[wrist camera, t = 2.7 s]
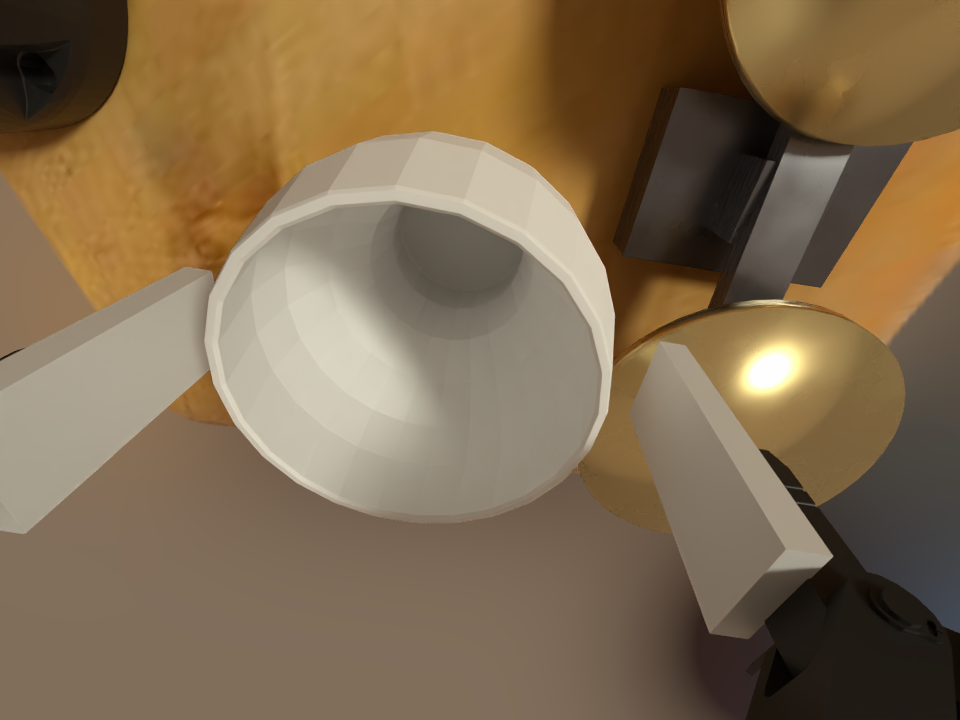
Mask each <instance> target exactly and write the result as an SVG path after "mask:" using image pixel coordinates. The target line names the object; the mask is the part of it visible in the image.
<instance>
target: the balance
mask: <svg viewBox="0 0 960 720" xmlns="http://www.w3.org/2000/svg"><path fill="white" fill-rule="evenodd" d="M718 2H719V9H720V16H721V23H722V30H723V33H724V37H725V40H726V44H727V47H728V51H729V54H730V57H731V59H732V62H733V64H734V66H735V68H736V70H737V73H738V75H739V77H740V79H741V81H742V82H743V84H744V85H745V87H746V88H747V90H748V91H749V93H750V94H751V96H752V97H753V99H748V98H742V97H736V96H730V95H724V94H718V93H712V92H706V91H700V90H694V89H688V88H682V87H671V88H662V90H661V93H660V96H659V99H658V102H657V105H656V108H655V112H654V115H653V118H652V121H651V124H650V127H649V130H648V134H647V137H646V140H645V143H644V146H643V149H642V152H641V156H640V159H639V162H638V165H637V168H636V171H635V174H634V178H633V181H632V184H631V187H630V190H629V193H628V196H627V200H626V203H625V206H624V209H623V212H622V215H621V218H620V222H619V225H618V228H617V231H616V234H615V237H614V240H613V242H614V244H615V245H616V247H617V248H618V249H619V251H620V252H621V254H622V255H623V256H624V257H630V258H637V259H643V260H649V261H655V262H662V263H668V264H674V265H681V266H687V267H693V268H700V269H706V270H712V271H719V272H722V273H721V276H720V278H719V281H718V283H717V286H716V288H715V291H714V294H713V296H712V299H711V301H710V304H709V306H708V309H704V310H701V311H698V312H695V313H693V314H690V315H687V316H684V317H681V318H679V319H677V320H675V321H673V322H670V323H668V324H666V325H664V326H662V327H660V328H658V329H656V330H655V331H653V332H651V333H650V334H648V335H646V336H644V337H643V338H641V339H639V340H638V341H637V342H635V343H634V344H633V345H631V346H630V347H629V348H627V349H626V350H625V351H623V352H622V353H621V354H620V355H619V356H618V357H617V358H616V359H615V360H614V361H613V369H612V378H611V388H610V397H609V407H608V413H607V415H606V417H605V420H604V422H603V424H602V426H601V428H600V430H599V433H598V435H597V437H596V439H595V441H594V444H593V446H592V448H591V450H590V451H589V453H588V454H587V455H586V456H585V457H584V458H583V459H582V460H581V462H580V463H579V464H578V467H579V471H580V474H581V477H582V479H583V481H584V483H585V485H586V487H587V489H588V490H589V491H590V493H591V494H592V495H593V497H594V498H595V499H596V500H597V501H598V502H599V503H600V504H601V505H602V506H603V507H605V508H606V509H607V510H609V511H610V512H612V513H613V514H614V515H616V516H618V517H620V518H622V519H624V520H625V521H628V522H630V523H632V524H635V525H637V526H640V527H643V528H647V529H650V530H654V531H658V532H664V533H669V534H673V532H672V530H671V527H670V524H669V521H668V519H667V516H666V513H665V511H664V508H663V505H662V502H661V500H660V497H659V494H658V492H657V489H656V486H655V483H654V481H653V478H652V475H651V472H650V470H649V467H648V464H647V462H646V459H645V456H644V453H643V451H642V448H641V445H640V443H639V440H638V437H637V434H636V432H635V429H634V426H633V424H632V421H631V418H630V415H629V411H630V409H631V407H632V405H633V402H634V400H635V398H636V395H637V393H638V391H639V388H640V386H641V384H642V381H643V379H644V377H645V375H646V372H647V370H648V368H649V365H650V363H651V361H652V358H653V356H654V354H655V351H656V349H657V347H658V345H659V342H660V341H661V342H667V343H674V344H680V345H686V347H687V348H688V350H689V351H690V352H691V354H692V355H693V357H694V358H695V360H696V361H697V362H698V364H699V365H700V367H701V368H702V370H703V371H704V372H705V374H706V375H707V377H708V378H709V380H710V381H711V382H712V384H713V385H714V387H715V388H716V390H717V391H718V392H719V394H720V395H721V397H722V398H723V400H724V401H725V402H726V404H727V405H728V407H729V408H730V410H731V411H732V412H733V414H734V415H735V417H736V418H737V420H738V421H739V422H740V424H741V425H742V427H743V428H744V429H745V431H746V432H747V434H748V435H749V437H750V438H751V439H752V441H753V442H754V444H755V445H756V447H757V448H758V449H764V450H768V451H770V452H771V453H772V454H773V455H774V456H775V457H777V458H778V459H779V460H780V461H781V462H782V463H784V464H785V465H786V466H787V467H788V468H789V469H790V470H791V471H792V473H793V474H794V475H795V477H796V478H797V479H798V481H799V482H800V483H801V485H802V486H803V491H806V492H807V493H808V494H809V496H810V497H811V498H812V500H813V501H814V502H815V507H816V506H818V505H820V504H822V503H824V502H825V501H828V500H829V499H830V498H832V497H834V496H835V495H837V494H838V493H840V492H841V491H843V490H844V489H846V488H847V487H848V486H849V485H851V484H852V483H853V482H855V481H856V480H857V479H858V478H860V477H861V476H862V475H863V474H864V473H865V472H866V471H867V470H868V469H869V468H870V467H871V466H872V465H873V464H874V463H875V462H876V460H877V459H878V458H879V457H880V456H881V455H882V453H883V452H884V451H885V449H886V448H887V446H888V445H889V443H890V441H891V440H892V438H893V437H894V434H895V432H896V430H897V428H898V426H899V424H900V421H901V417H902V413H903V410H904V405H905V385H904V379H903V374H902V372H901V369H900V367H899V364H898V362H897V360H896V358H895V357H894V356H893V355H892V353H891V352H890V350H889V349H888V347H887V346H886V345H885V344H884V343H883V342H881V341H880V340H879V339H878V338H877V337H876V336H875V335H874V334H872V333H871V332H869V331H868V330H866V329H865V328H863V327H862V326H860V325H859V324H857V323H855V322H854V321H852V320H850V319H849V318H847V317H845V316H844V315H842V314H840V313H837V312H835V311H832V310H829V309H827V308H824V307H821V306H817V305H813V304H808V303H804V302H798V301H787V300H782V299H783V297H784V295H785V293H786V291H787V289H788V287H789V284H790V283H794V284H801V285H807V286H813V287H820V288H821V287H822V285H823V283H824V282H825V280H826V279H827V277H828V276H829V274H830V272H831V271H832V269H833V268H834V266H835V265H836V263H837V261H838V260H839V258H840V257H841V255H842V253H843V252H844V250H845V249H846V247H847V246H848V244H849V242H850V241H851V239H852V238H853V236H854V235H855V233H856V231H857V230H858V228H859V227H860V225H861V224H862V222H863V220H864V219H865V217H866V216H867V214H868V213H869V211H870V209H871V208H872V206H873V205H874V203H875V202H876V200H877V198H878V197H879V195H880V194H881V192H882V190H883V189H884V187H885V186H886V184H887V183H888V181H889V179H890V178H891V176H892V175H893V173H894V172H895V170H896V168H897V167H898V165H899V164H900V162H901V161H902V159H903V157H904V156H905V154H906V153H907V151H908V150H909V148H910V146H911V145H912V143H913V142H914V141H920V140H925V139H928V138H932V137H935V136H938V135H942V134H945V133H948V132H952V131H955V130H957V129H960V0H718Z"/></svg>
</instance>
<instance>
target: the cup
mask: <svg viewBox="0 0 960 720" xmlns="http://www.w3.org/2000/svg"><path fill="white" fill-rule="evenodd" d="M614 325H615V313H614V308H613V303H612V298H611V294H610V289H609V284H608V279H607V274H606V270H605V267H604V265H603V263H602V261H601V259H600V258H599V256H598V254H597V252H596V250H595V249H594V247H593V245H592V243H591V241H590V240H589V238H588V236H587V234H586V232H585V231H584V229H583V227H582V225H581V223H580V222H579V220H578V218H577V216H576V214H575V213H574V211H573V209H572V207H571V206H570V204H569V202H568V201H567V200H566V199H565V198H564V197H563V196H562V195H561V194H560V193H559V192H558V191H557V190H556V189H555V188H554V187H553V186H552V185H550V184H549V183H548V182H547V181H546V180H545V179H544V178H543V177H542V176H541V175H540V174H539V173H538V172H537V171H536V170H535V169H534V168H533V167H532V166H530V165H528V164H526V163H524V162H522V161H521V160H519V159H517V158H515V157H513V156H511V155H509V154H508V153H506V152H504V151H502V150H500V149H498V148H496V147H495V146H493V145H491V144H489V143H487V142H484V141H479V140H474V139H470V138H465V137H460V136H455V135H450V134H446V133H441V132H436V131H429V132H418V133H407V134H397V135H386V136H380V137H377V138H374V139H370V140H367V141H364V142H361V143H358V144H355V145H353V146H351V147H348V148H346V149H344V150H341V151H339V152H337V153H334V154H332V155H330V156H328V157H325V158H323V159H321V160H318V161H316V162H314V163H311V164H309V165H307V166H305V167H304V168H303V169H302V170H301V171H300V172H299V173H298V174H297V175H295V176H294V177H293V178H292V179H291V180H290V181H289V182H288V183H287V184H286V185H285V186H284V187H282V188H281V189H280V190H279V191H278V192H277V193H276V194H275V195H274V196H273V197H272V198H270V199H269V200H268V201H267V203H266V204H265V205H264V207H263V208H262V209H261V211H260V212H259V213H258V215H257V216H256V217H255V219H254V220H253V221H252V223H251V224H250V225H249V227H248V228H247V229H246V231H245V232H244V233H243V235H242V236H241V237H240V239H239V240H238V241H237V243H236V244H235V245H234V247H233V248H232V250H231V251H230V253H229V255H228V257H227V259H226V261H225V263H224V265H223V267H222V269H221V271H220V273H219V275H218V277H217V279H216V281H215V283H214V285H213V287H212V289H211V291H210V293H209V300H208V309H207V319H206V328H205V337H204V343H205V348H206V352H207V357H208V361H209V366H210V371H211V375H212V380H213V384H214V387H215V388H216V390H217V392H218V394H219V396H220V398H221V400H222V402H223V404H224V405H225V407H226V409H227V411H228V413H229V415H230V417H231V419H232V420H233V422H234V424H235V425H236V426H237V427H238V429H239V430H240V431H241V432H242V433H243V434H244V436H245V437H246V438H247V439H248V440H249V441H250V442H251V444H252V445H253V446H254V447H255V448H256V449H257V450H258V452H259V453H260V454H261V455H262V456H263V457H264V458H265V459H267V460H268V461H269V462H270V463H272V464H273V465H274V466H276V467H277V468H278V469H280V470H281V471H282V472H283V473H285V474H286V475H287V476H289V477H290V478H291V479H292V480H294V481H295V482H296V483H298V484H300V485H302V486H303V487H305V488H307V489H309V490H311V491H313V492H315V493H317V494H319V495H321V496H322V497H324V498H326V499H328V500H330V501H332V502H334V503H336V504H339V505H342V506H345V507H348V508H351V509H354V510H357V511H360V512H363V513H367V514H369V515H372V516H376V517H382V518H388V519H394V520H400V521H406V522H412V523H459V522H464V521H470V520H476V519H482V518H487V517H493V516H497V515H499V514H502V513H504V512H507V511H510V510H512V509H515V508H517V507H520V506H523V505H525V504H528V503H530V502H532V501H534V500H535V499H537V498H538V497H540V496H541V495H543V494H544V493H545V492H547V491H549V490H550V489H552V488H553V487H555V486H556V485H558V484H559V483H561V482H562V481H564V480H565V478H566V477H567V476H568V475H569V474H570V473H571V472H572V471H573V469H574V468H575V467H576V466H577V465H578V464H579V463H580V462H581V460H582V459H583V458H584V457H585V456H586V455H587V454H588V453H589V451H590V450H591V448H592V446H593V444H594V441H595V439H596V437H597V435H598V433H599V430H600V428H601V426H602V424H603V422H604V420H605V417H606V415H607V413H608V407H609V397H610V388H611V378H612V369H613V347H614Z"/></svg>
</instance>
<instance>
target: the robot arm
mask: <svg viewBox="0 0 960 720" xmlns="http://www.w3.org/2000/svg"><path fill="white" fill-rule="evenodd" d="M127 25H128V14H127V0H0V133H13V132H26V131H40V130H51V129H58V128H62V127H66V126H70V125H72V124H75V123H77V122H79V121H81V120H83V119H85V118H86V117H88V116H89V115H90V114H92V113H93V112H94V111H95V110H96V109H97V108H99V107H100V106H101V104H102V103H103V102H104V101H105V100H106V98H107V97H108V95H109V94H110V92H111V91H112V89H113V87H114V85H115V83H116V81H117V79H118V76H119V73H120V71H121V67H122V63H123V60H124V55H125V49H126V41H127ZM213 285H214V278H213V274H212V271H209V270H203V269H197V268H190V267H184V268H182V269H180V270H178V271H176V272H174V273H172V274H170V275H168V276H166V277H164V278H162V279H160V280H158V281H156V282H154V283H152V284H150V285H148V286H146V287H144V288H142V289H140V290H138V291H137V292H135V293H133V294H131V295H129V296H127V297H125V298H123V299H121V300H119V301H117V302H115V303H113V304H111V305H109V306H107V307H105V308H103V309H101V310H99V311H97V312H95V313H93V314H92V315H89V316H87V317H86V318H84V319H82V320H80V321H78V322H76V323H74V324H72V325H70V326H68V327H66V328H64V329H62V330H60V331H58V332H56V333H54V334H52V335H50V336H48V337H46V338H44V339H42V340H40V341H38V342H37V343H34V344H33V345H31V346H29V347H27V348H23V349H20V350H17V351H14V352H12V353H10V354H8V355H6V356H4V357H2V358H0V530H1V531H8V532H15V533H21V534H25V533H26V532H28V531H29V530H30V529H31V528H32V527H33V526H34V525H35V524H37V523H38V522H39V521H40V520H41V519H42V518H43V517H44V516H46V515H47V514H48V513H49V512H50V511H51V510H52V509H54V508H55V507H56V506H57V505H58V504H59V503H60V502H61V501H63V499H65V498H66V497H67V496H68V495H69V494H70V493H71V492H73V490H75V489H76V488H77V487H78V486H79V485H80V484H81V483H83V482H84V481H85V480H86V479H87V478H88V477H89V476H91V475H92V474H93V473H94V472H95V471H96V470H97V469H99V468H100V467H101V466H102V465H103V464H104V463H105V462H106V461H107V460H109V459H110V458H111V457H112V456H113V455H114V454H115V453H116V452H118V451H119V450H120V449H121V448H122V447H123V446H124V445H125V444H127V443H128V442H129V441H130V440H131V439H132V438H133V437H134V436H136V435H137V434H138V433H139V432H140V431H141V430H142V429H143V428H145V427H146V426H147V425H148V424H149V423H150V422H151V421H152V420H153V419H155V418H156V417H157V416H158V415H159V414H160V413H161V412H163V411H164V410H165V409H166V408H167V407H168V406H169V405H170V404H172V403H173V402H174V401H175V400H176V399H177V398H178V397H179V396H181V395H182V394H183V393H184V392H185V391H186V390H187V389H188V388H190V387H191V386H192V385H193V384H194V383H195V382H196V381H197V380H199V379H200V378H201V377H202V376H203V375H204V374H205V373H206V372H208V371H209V370H210V366H209V361H208V357H207V352H206V348H205V343H204V337H205V328H206V319H207V309H208V300H209V293H210V291H211V289H212V287H213ZM629 415H630V418H631V421H632V424H633V426H634V429H635V432H636V434H637V437H638V440H639V443H640V445H641V448H642V451H643V453H644V456H645V459H646V462H647V464H648V467H649V470H650V472H651V475H652V478H653V481H654V483H655V486H656V489H657V492H658V494H659V497H660V500H661V502H662V505H663V508H664V511H665V513H666V516H667V519H668V521H669V524H670V527H671V530H672V532H673V535H674V538H675V540H676V543H677V546H678V549H679V551H680V554H681V557H682V559H683V562H684V565H685V567H686V570H687V573H688V576H689V578H690V581H691V584H692V587H693V589H694V592H695V595H696V597H697V600H698V603H699V605H700V608H701V611H702V614H703V616H704V619H705V622H706V625H707V627H708V630H709V633H710V634H718V635H724V636H732V637H738V638H745V639H749V638H750V637H751V636H752V635H753V634H754V633H755V632H756V631H757V630H758V629H759V628H760V627H761V626H762V625H763V624H766V626H767V628H768V630H769V632H770V634H771V636H772V638H773V640H774V644H772V645H771V646H770V647H769V648H768V649H767V650H766V651H765V652H764V653H762V654H761V655H760V656H759V657H758V658H757V659H756V660H755V661H754V662H753V663H752V664H751V665H750V666H749V667H748V669H747V670H746V672H748V673H749V674H750V675H751V676H752V675H753V674H755V673H756V672H757V671H758V670H759V669H761V670H760V673H759V676H758V679H757V683H756V686H755V689H754V692H753V696H752V699H751V702H750V705H749V709H748V712H747V715H746V718H745V720H960V633H958V632H955V631H953V630H950V629H948V628H945V627H943V626H942V625H941V624H940V622H939V621H938V619H937V618H936V617H935V615H934V614H933V613H932V612H931V611H930V610H929V609H928V608H927V607H926V606H925V605H923V603H922V602H921V601H920V600H918V599H917V598H916V597H915V596H913V595H912V594H911V593H909V592H908V591H906V590H905V589H904V588H902V587H901V586H899V585H898V584H896V583H894V582H892V581H890V580H888V579H886V578H884V577H882V576H880V575H876V574H873V573H868V572H866V570H865V569H864V568H863V567H862V565H861V564H860V563H859V561H858V560H857V558H856V557H855V556H854V554H853V553H852V552H851V550H850V549H849V548H848V546H847V545H846V544H845V542H844V541H843V540H842V538H841V537H840V536H839V534H838V533H837V532H836V530H835V529H834V528H833V526H832V525H831V524H830V522H829V521H828V520H827V518H826V517H825V516H824V514H823V513H822V512H821V510H820V509H819V508H816V507H815V502H814V501H813V500H812V498H811V497H810V496H809V494H808V493H807V492H806V491H803V486H802V485H801V483H800V482H799V481H798V479H797V478H796V477H795V475H794V474H793V473H792V471H791V470H790V469H789V468H788V467H787V466H786V465H785V464H784V463H782V462H781V461H780V460H779V459H778V458H777V457H775V456H774V455H773V454H772V453H771V452H770V451H768V450H764V449H758V448H757V447H756V445H755V444H754V442H753V441H752V439H751V438H750V437H749V435H748V434H747V432H746V431H745V429H744V428H743V427H742V425H741V424H740V422H739V421H738V420H737V418H736V417H735V415H734V414H733V412H732V411H731V410H730V408H729V407H728V405H727V404H726V402H725V401H724V400H723V398H722V397H721V395H720V394H719V392H718V391H717V390H716V388H715V387H714V385H713V384H712V382H711V381H710V380H709V378H708V377H707V375H706V374H705V372H704V371H703V370H702V368H701V367H700V365H699V364H698V362H697V361H696V360H695V358H694V357H693V355H692V354H691V352H690V351H689V350H688V348H687V347H686V345H680V344H674V343H667V342H661V341H660V342H659V345H658V347H657V349H656V351H655V354H654V356H653V358H652V361H651V363H650V365H649V368H648V370H647V372H646V375H645V377H644V379H643V381H642V384H641V386H640V388H639V391H638V393H637V395H636V398H635V400H634V402H633V405H632V407H631V409H630V411H629Z"/></svg>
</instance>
